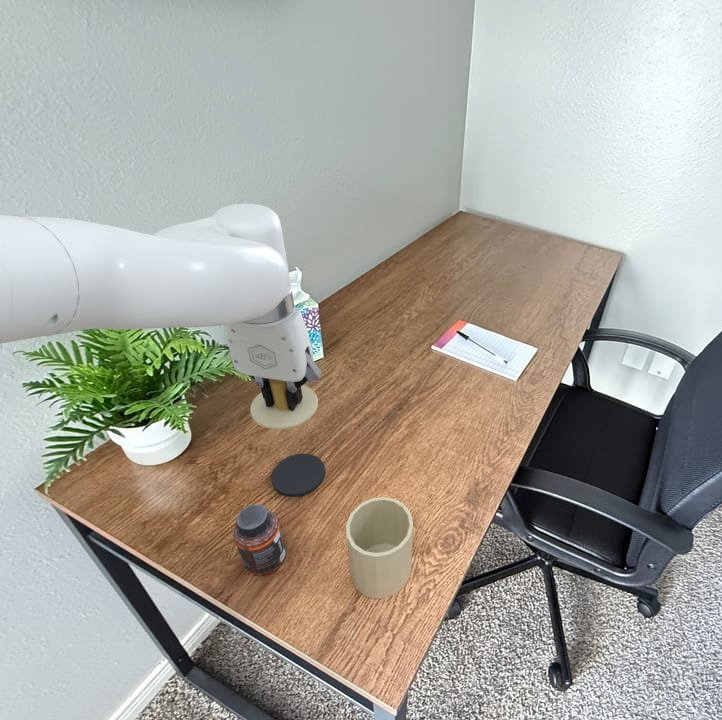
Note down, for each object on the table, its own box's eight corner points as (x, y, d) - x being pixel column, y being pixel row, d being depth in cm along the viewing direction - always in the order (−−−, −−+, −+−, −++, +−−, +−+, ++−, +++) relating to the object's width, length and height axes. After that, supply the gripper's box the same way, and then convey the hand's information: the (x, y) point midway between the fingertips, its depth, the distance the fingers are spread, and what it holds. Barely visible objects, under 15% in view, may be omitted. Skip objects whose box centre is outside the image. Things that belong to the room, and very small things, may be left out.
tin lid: (247, 435, 68) (238, 403, 64) (255, 390, 76) (247, 359, 71) (317, 428, 71) (312, 397, 67) (318, 385, 78) (314, 355, 74)
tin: (352, 604, 67) (347, 561, 60) (350, 547, 74) (345, 501, 66) (414, 592, 70) (416, 549, 62) (407, 538, 76) (408, 493, 69)
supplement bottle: (295, 554, 72) (284, 512, 65) (262, 585, 68) (247, 544, 61) (269, 533, 74) (256, 490, 67) (236, 562, 70) (218, 520, 63)
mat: (269, 500, 79) (268, 497, 78) (274, 459, 86) (273, 456, 85) (325, 493, 81) (324, 490, 81) (325, 453, 88) (325, 450, 87)
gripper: (185, 308, 58) (220, 411, 69) (312, 327, 58) (326, 428, 69) (217, 279, 64) (245, 379, 75) (333, 297, 64) (343, 394, 75)
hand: (284, 402), depth 72 cm, fingers closed on tin lid, 2 cm apart
